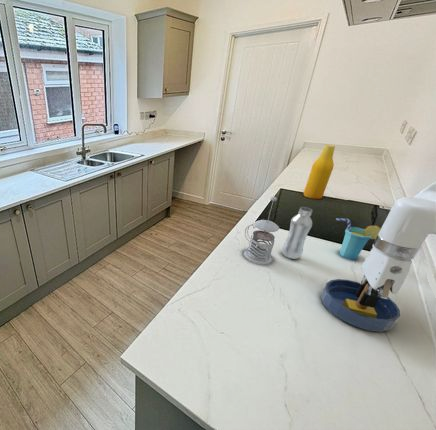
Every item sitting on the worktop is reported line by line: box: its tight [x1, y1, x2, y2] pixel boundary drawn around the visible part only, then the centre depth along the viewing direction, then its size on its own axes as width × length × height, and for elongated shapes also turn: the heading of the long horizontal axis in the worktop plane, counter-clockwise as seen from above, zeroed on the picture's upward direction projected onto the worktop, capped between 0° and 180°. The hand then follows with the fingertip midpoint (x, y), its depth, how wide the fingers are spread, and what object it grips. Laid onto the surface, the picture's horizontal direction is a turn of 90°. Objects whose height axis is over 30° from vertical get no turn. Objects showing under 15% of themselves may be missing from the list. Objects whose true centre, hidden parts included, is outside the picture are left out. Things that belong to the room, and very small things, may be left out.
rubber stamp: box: [343, 283, 379, 318], centre depth 73 cm, size 6×4×10 cm, turn 65°
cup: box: [335, 217, 382, 261], centre depth 97 cm, size 14×8×15 cm, turn 63°
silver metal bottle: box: [281, 206, 313, 260], centre depth 96 cm, size 6×7×20 cm
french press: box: [243, 196, 280, 265], centre depth 96 cm, size 10×12×25 cm
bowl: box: [320, 278, 401, 333], centre depth 76 cm, size 16×16×4 cm
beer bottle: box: [303, 144, 336, 200], centre depth 145 cm, size 9×9×29 cm
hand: (364, 301), depth 73 cm, fingers closed on rubber stamp, 2 cm apart
